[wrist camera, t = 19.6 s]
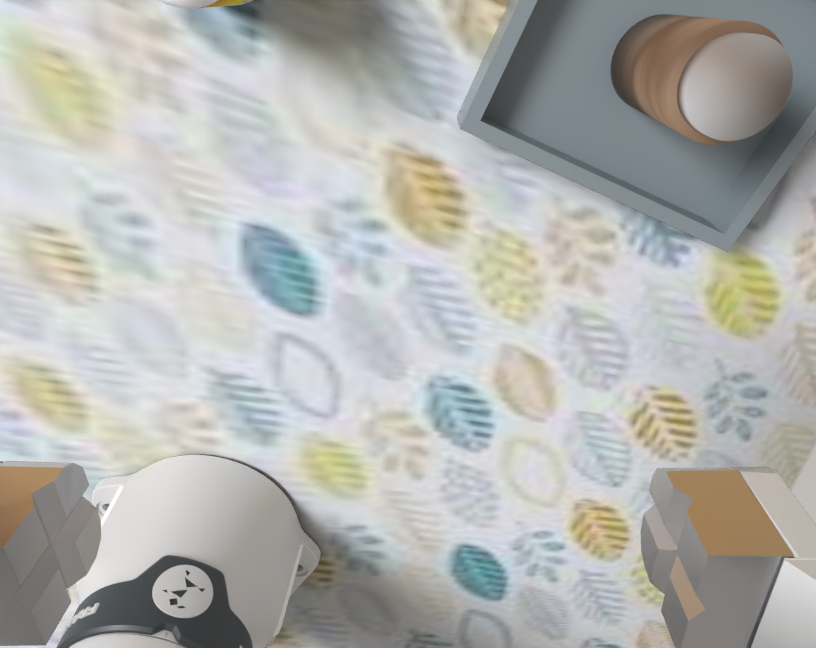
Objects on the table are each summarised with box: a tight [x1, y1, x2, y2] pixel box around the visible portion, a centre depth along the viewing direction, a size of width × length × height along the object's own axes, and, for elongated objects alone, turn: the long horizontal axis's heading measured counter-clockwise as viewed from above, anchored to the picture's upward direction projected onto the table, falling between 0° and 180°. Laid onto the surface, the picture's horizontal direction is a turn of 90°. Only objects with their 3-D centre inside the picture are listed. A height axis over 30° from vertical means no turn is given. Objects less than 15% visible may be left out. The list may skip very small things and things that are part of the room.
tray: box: [457, 0, 816, 252], centre depth 33 cm, size 14×17×4 cm
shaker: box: [610, 14, 793, 145], centre depth 30 cm, size 5×5×10 cm
